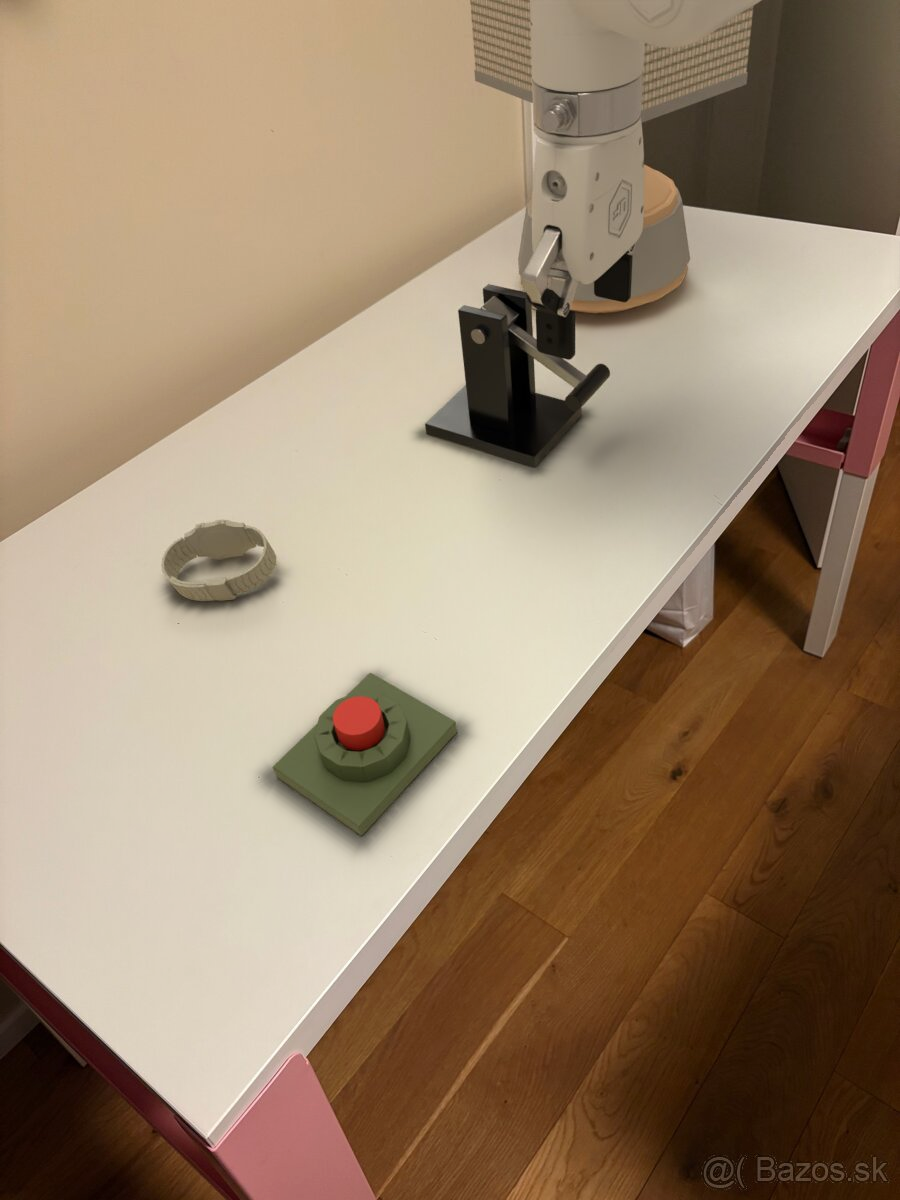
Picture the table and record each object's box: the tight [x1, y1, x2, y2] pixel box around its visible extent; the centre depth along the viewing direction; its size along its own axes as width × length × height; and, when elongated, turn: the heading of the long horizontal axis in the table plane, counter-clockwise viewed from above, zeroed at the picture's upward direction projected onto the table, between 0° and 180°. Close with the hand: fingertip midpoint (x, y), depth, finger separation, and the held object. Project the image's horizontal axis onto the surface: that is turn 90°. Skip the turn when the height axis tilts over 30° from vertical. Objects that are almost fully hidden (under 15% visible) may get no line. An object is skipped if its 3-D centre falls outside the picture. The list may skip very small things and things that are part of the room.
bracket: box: [424, 283, 583, 468], centre depth 86 cm, size 12×9×13 cm
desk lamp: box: [469, 0, 755, 315], centre depth 95 cm, size 22×19×37 cm
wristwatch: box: [160, 519, 278, 602], centre depth 77 cm, size 9×6×5 cm
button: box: [333, 696, 385, 751], centre depth 63 cm, size 3×3×2 cm
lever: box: [479, 296, 611, 411], centre depth 83 cm, size 12×6×2 cm, turn 56°
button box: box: [272, 672, 458, 836], centre depth 64 cm, size 10×8×3 cm
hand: (584, 325), depth 78 cm, fingers open, 9 cm apart
